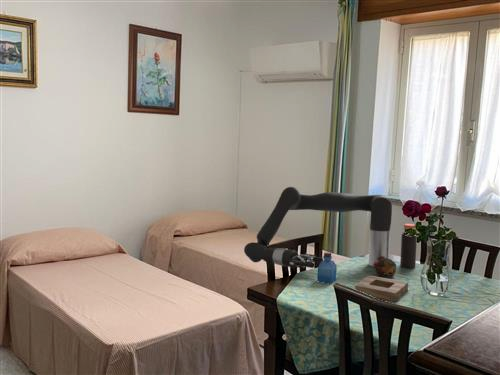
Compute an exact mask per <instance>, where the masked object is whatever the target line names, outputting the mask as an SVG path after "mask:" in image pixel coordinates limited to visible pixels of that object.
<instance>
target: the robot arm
mask: <svg viewBox="0 0 500 375" xmlns="http://www.w3.org/2000/svg"><path fill="white" fill-rule="evenodd" d="M297 210H298V211H300V210H301V211H305V210H306V211H307V210H313V211H321V212H324V211H325V212H333V213H348V212H354V211H355V212H357V211H360V212H361V211H362V212H369V213H370V222H369V240H368V242H369V243H368V244H369V245H368V265H369V266H370V267H372V268H374V263H375V262H376V261H377V258H378V257H379V256H384V257H385V258H388V259H390V241H391V240H390V239H391V238H390V237H391V225H392V214H393V213H392V212H393V205H392V202H391V200H390V199H389V197H388V196H386V195H384V194H371V195H370V194H368V195H367V194H365V195H364V194H363V195H361V194H354V193H346V192H335V191H334V192H333V191H330V192H329V191H328V192H322V193H317V194H311V195H310V194H300V191H299V190H298V189H297V188H296V187H293V186H288V187H286V188H284V189H283V190H282V192H281V193H280V196H279V199H278V201H277V202H276V205H275V206H274V208H273V210H272V211H271V214H270V215H269V216H268V218H267V219H266V221H265V222H264V224H263V225H262V227H261V228H260V229H259V231H258V232H257V234H256V240H257V241H256V242H248V243H247V244H245V245H244V248H243V252H244V254H245V256H246V257H248V258H249V260H250V261H251V262H253V263H260V262H261V261H262V260H263V261H264V262H266V263H268V262H267V261H270V262H272V263H271V264H273V263H274V264H275V265H278V266H281V267H287V268H288V267H289V268H300V269H302V268H310V269H311V268H312V269H313V268H315V263H317V264H320V263H321V262H322V261H323V260H324V259H323V257H318V256H317V255H316V254H310V253H303V254H299V253H298V251H297V250H294V249H288V248H278V247H272V246H271V247H270V246H268V247H269V248H267V245H270V243H271V242H272V240H273V238H274V237H275V235H276V234H277V233H278V231H279V229H280V227H281V225H282V222H283V220H284V218H285V216H286V215H287V213H288V212H289V211H297ZM264 246H266V250H264V248H265V247H264Z"/></svg>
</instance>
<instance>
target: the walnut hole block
mask: <svg viewBox="0 0 500 375" xmlns="http://www.w3.org/2000/svg"><path fill="white" fill-rule="evenodd" d="M355 289H356V290H358V291H361V292H364V293H366V294H368V295H371V296H373V297H376V298H375V299H377V298H379V300H382V301H383V300H384V301H387V302H393V303H396V302H398V301H399V300H400V298H402V297H403V296H404V295H405V294H406V293H407V292H408V291H409V281H404V280H397V279H393V278H386V277H380V276H375V275H368V276H367V277H365V278H364V279H362V280H361V281H359V282H357V283H356V284H355V286H354V290H355Z"/></svg>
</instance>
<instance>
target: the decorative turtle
mask: <svg viewBox="0 0 500 375" xmlns="http://www.w3.org/2000/svg"><path fill="white" fill-rule="evenodd" d="M397 267H398V266H397V264H396V262H395V261H394V260H392V259H391V258H389V259H388V258H385V257H384V256H379V257H378V258H377V261H376V262H375V263H374V267H373V269H374V270H375V272H376V274H377V275H378V277H382V278H384V276H385V275H387V276H388V277H394V276H395V274H396V270H397Z"/></svg>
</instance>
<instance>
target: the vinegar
mask: <svg viewBox="0 0 500 375" xmlns="http://www.w3.org/2000/svg"><path fill="white" fill-rule="evenodd" d="M409 228H412V229H414V228H415V229H416V224H414V223H404V224H403V230H404V231H403V233H402V234H401V241H400V267H401V268H403V269H414V268H416V264H417V263H416V261H417V260H416V259H417V243H418V239H417V238H418V236H412V237H407V236H405V232H406V229H409Z"/></svg>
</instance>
